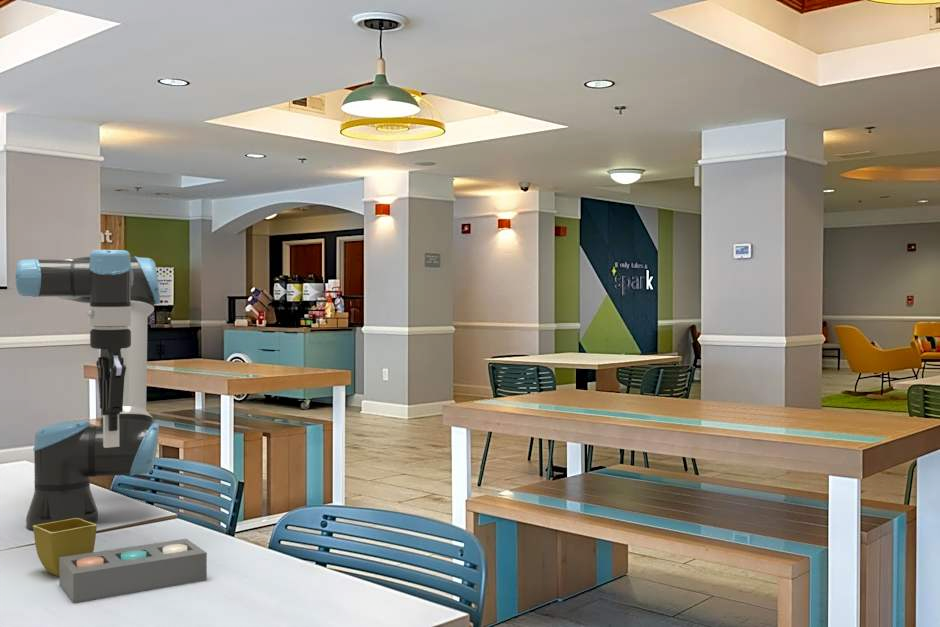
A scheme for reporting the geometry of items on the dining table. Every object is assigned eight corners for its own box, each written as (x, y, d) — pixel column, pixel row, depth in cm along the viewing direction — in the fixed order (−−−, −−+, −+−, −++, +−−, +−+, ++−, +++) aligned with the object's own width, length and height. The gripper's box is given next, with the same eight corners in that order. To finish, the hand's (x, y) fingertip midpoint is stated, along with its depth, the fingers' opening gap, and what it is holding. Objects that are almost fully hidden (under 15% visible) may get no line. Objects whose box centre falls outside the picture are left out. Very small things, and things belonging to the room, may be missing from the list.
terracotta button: (74, 577, 163) (74, 559, 162) (100, 572, 165) (100, 555, 165) (79, 583, 159) (79, 565, 159) (106, 579, 161) (106, 561, 161)
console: (59, 584, 165) (59, 557, 165) (186, 564, 178) (186, 538, 178) (73, 603, 155) (73, 573, 155) (206, 579, 168) (206, 552, 168)
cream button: (159, 563, 171) (159, 546, 171) (183, 559, 174) (183, 542, 174) (166, 569, 167) (166, 551, 167) (190, 565, 170) (190, 548, 170)
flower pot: (32, 572, 173) (31, 524, 172) (77, 562, 179) (77, 516, 179) (51, 581, 167) (51, 532, 166) (98, 571, 173) (98, 524, 173)
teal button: (118, 570, 167) (118, 552, 167) (142, 566, 169) (142, 549, 169) (124, 576, 163) (124, 558, 163) (149, 571, 166) (149, 554, 166)
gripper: (82, 326, 183) (83, 443, 184) (98, 330, 172) (99, 454, 173) (121, 325, 187) (122, 439, 188) (139, 329, 176) (139, 449, 177)
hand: (111, 446), depth 181 cm, fingers closed
